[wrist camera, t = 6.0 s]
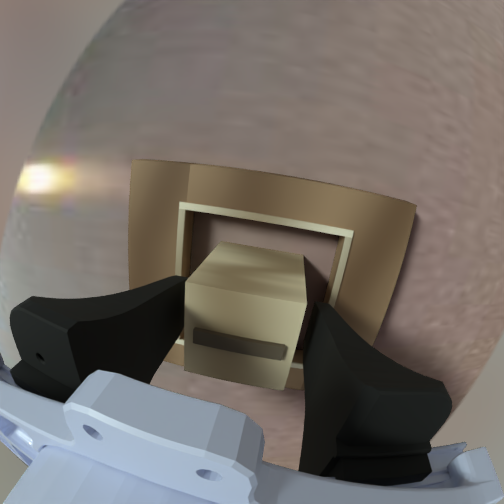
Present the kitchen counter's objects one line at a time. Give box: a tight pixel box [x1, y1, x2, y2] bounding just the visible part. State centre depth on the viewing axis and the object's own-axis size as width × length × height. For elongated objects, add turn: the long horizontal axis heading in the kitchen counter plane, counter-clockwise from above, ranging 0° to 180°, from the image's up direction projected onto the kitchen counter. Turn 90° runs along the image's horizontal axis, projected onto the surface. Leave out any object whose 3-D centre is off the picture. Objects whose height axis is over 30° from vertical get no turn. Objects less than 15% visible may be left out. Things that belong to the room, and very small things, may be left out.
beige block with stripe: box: [184, 241, 307, 391], centre depth 12 cm, size 4×4×5 cm
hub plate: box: [128, 159, 417, 390], centre depth 14 cm, size 13×11×1 cm
